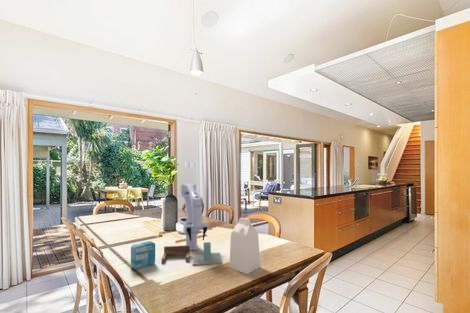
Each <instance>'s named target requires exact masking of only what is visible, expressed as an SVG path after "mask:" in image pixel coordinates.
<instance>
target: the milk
mask: <svg viewBox="0 0 470 313" xmlns="http://www.w3.org/2000/svg"><path fill="white" fill-rule="evenodd" d="M230 233H231V234H230V248H229V268H230V269H232V270H233V271H234V270H235V271H236V272H240V273H242V274H246V275H248V274H250V273H252V272H254V271H256V270H257V269H259V268H261V257H260V256H261V255H260V240H259V232H258V230H257V229H256V228H255V226H253V225H252V222H251V220H250V218H244V217H239V218H238V223H237V224H236V225H235V227H234V228H233V229H232V231H231V232H230ZM255 269H256V270H255ZM253 270H254V271H253Z"/></svg>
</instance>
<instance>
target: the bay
mask: <svg viewBox="0 0 470 313" xmlns="http://www.w3.org/2000/svg"><path fill="white" fill-rule="evenodd" d="M190 251H191V250H190V245H186V244H185V245H167V246H164V247H163V252H164V253H163V254H162V257H161V264H165V262H166V260H167V258H179V257H181V258H182V257H185V262H186V263H189V261H190V257H191V256H190V255H191V254H190V253H191V252H190Z"/></svg>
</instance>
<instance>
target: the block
mask: <svg viewBox="0 0 470 313" xmlns="http://www.w3.org/2000/svg"><path fill="white" fill-rule="evenodd" d="M211 248H212V244H211V242H210V241H208V242H203V253H204V260H211V253H212V252H211V250H212V249H211Z"/></svg>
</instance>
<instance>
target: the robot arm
mask: <svg viewBox="0 0 470 313" xmlns="http://www.w3.org/2000/svg"><path fill="white" fill-rule="evenodd" d="M180 194H181V197H183V199H184V203H185V204H184V205H185V214H186V221H184V223H183V228H182V229H183V234H184V235H185V245H190V251H198V247H199V246H198V234H199V233H200V232H201V231H200V229H202V241H205V236H206V233H207V231H208V229H209V228H210V224H209V223H203V222H202V221H203V220H202V219H203V218H202V217H203V216H202V213H203V210H202V209H203V206H204V200H203V197H202V196H200V195H199V194H198V192H197V185H196V183H195V182H191V183H187V182H186V183H181V184H180Z"/></svg>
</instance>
